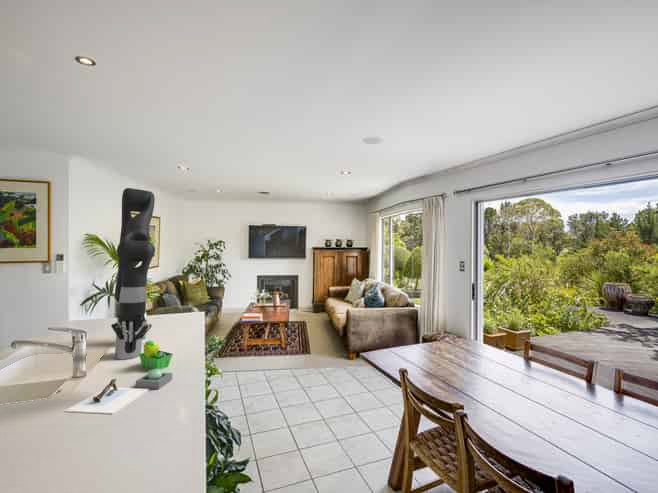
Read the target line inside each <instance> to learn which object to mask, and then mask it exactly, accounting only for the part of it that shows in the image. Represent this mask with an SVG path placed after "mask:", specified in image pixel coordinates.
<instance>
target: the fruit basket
mask: <svg viewBox="0 0 658 493" xmlns="http://www.w3.org/2000/svg"><path fill="white" fill-rule="evenodd" d="M173 356H174V353H171V352H167V351H164V350H163V351H162V350H160V345H159V344H157V343H156V342H154V341H153V340H148V341H145V343H144V344H143V352H141V353H140V354H139V356H138V357H139V359H140V364H141V366H142V368H147V369H150V370H152V369H162V370H163V369H165V368H169V365H170V363H171V360H172V357H173Z"/></svg>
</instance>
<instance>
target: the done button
mask: <svg viewBox="0 0 658 493" xmlns="http://www.w3.org/2000/svg"><path fill="white" fill-rule="evenodd" d="M162 373H163V369H150V370H148V371H147V374H148V378H147V380H158V379H160V378H161V377H162Z"/></svg>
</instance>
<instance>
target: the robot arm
mask: <svg viewBox="0 0 658 493" xmlns="http://www.w3.org/2000/svg"><path fill="white" fill-rule="evenodd" d="M121 197H122V198H121V228H120V235H119V242H118V245H117V248H116V256H117V258H118V264H117V276H116V281H115V282H116V283H115V287H114V300H115V301H116V302H117V303H118V305H119V306H118V312H117V316H116V317H117V318H116V322H115V323H112V324H111V329H112V330H113V331H114V333H115V336H116V337H115V350H114V359H116V360H129V359H134V358H137V357H140V356H139V354H141V353H142V345H143V344H142V338H143V336H144V335H145V334H146V335H147V333H148V331H149V330H151V328H152V326H153V325H152V324H151V323H148V322H147V323H146V322H145V317H144V315H145V312H146V313H147V309H146V302H147V294H148V292H147V281H148V280H147V279H148V273H149V267H150V265H151V263H152V260H153V258H154V254H155V250H156V249H155V245H154V244H153V242H151V241H149V238H150V225H151V221H152V217H153V213H154V209H155V202H156V200H155V195H154V192H153V191H151V190H150V191H149V190H143V189H139V188H138V189H137V188H134V187H133V188H132V187H131V188H130V187H125V188H124V190H123V192H122V196H121ZM132 212H133V213H134V212H135V213H137V214H136V215H134V216H133V215H132ZM140 263H141V264H140ZM139 264H140V265H139ZM138 265H139V266H138ZM141 344H142V345H141Z"/></svg>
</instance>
